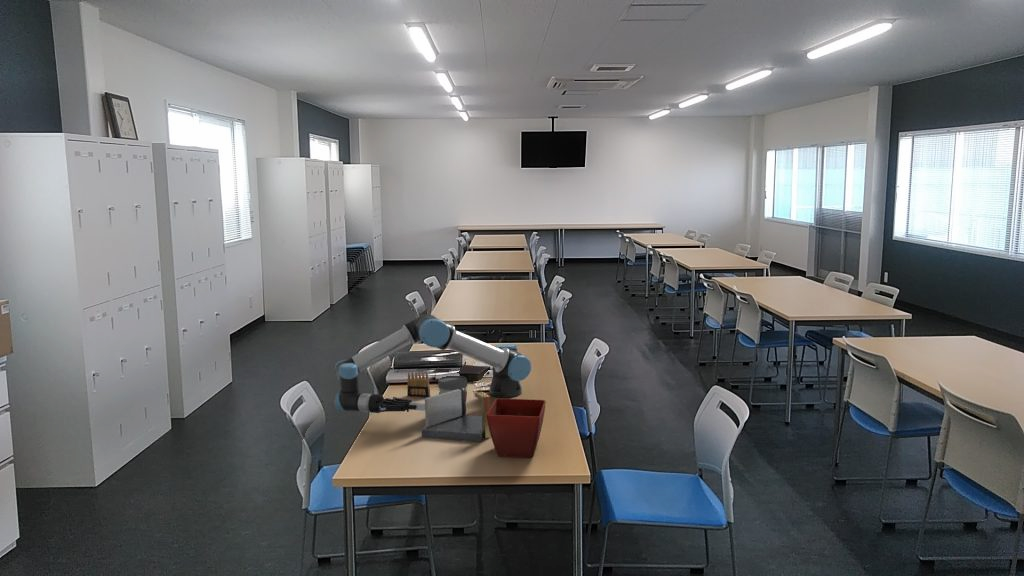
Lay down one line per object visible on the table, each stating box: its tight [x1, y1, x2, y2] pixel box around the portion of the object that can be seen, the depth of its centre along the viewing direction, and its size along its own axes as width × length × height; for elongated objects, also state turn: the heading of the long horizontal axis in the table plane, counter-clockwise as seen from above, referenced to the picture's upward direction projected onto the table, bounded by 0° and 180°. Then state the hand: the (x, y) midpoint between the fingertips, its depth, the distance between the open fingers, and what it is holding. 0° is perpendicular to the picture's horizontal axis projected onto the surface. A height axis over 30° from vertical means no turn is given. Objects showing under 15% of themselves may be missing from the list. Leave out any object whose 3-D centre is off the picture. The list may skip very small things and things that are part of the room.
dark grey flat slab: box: [421, 414, 485, 443], centre depth 277 cm, size 20×24×3 cm
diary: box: [432, 364, 492, 383], centre depth 356 cm, size 19×25×5 cm
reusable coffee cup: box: [437, 376, 468, 399], centre depth 298 cm, size 12×13×15 cm
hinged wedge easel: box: [424, 388, 467, 427], centre depth 279 cm, size 20×3×11 cm, turn 134°
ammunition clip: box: [406, 371, 431, 398], centre depth 323 cm, size 11×2×12 cm, turn 77°
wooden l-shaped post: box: [474, 391, 492, 440], centre depth 270 cm, size 3×7×16 cm, turn 30°
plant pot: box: [486, 398, 546, 459], centre depth 253 cm, size 19×19×17 cm
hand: (425, 406), depth 278 cm, fingers closed
